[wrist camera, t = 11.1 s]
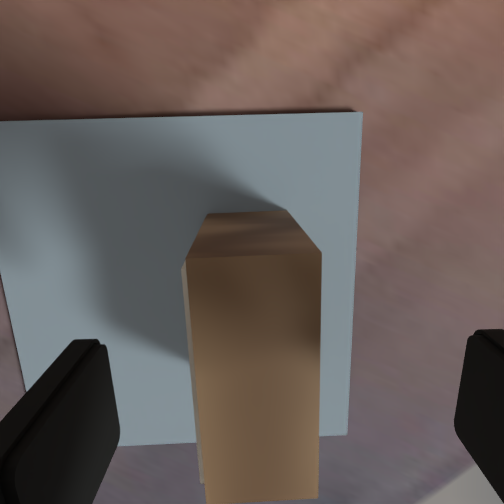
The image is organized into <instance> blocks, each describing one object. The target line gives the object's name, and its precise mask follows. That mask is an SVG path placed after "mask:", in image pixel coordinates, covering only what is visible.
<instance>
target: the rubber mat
mask: <svg viewBox="0 0 504 504" xmlns="http://www.w3.org/2000/svg"><path fill="white" fill-rule="evenodd" d="M362 119H363V112H340V113H301V114H263V115H224V116H186V117H147V118H109V119H71V120H32V121H0V273H1V278H2V282H3V287H4V291H5V296H6V301H7V305H8V310H9V314H10V319H11V323H12V328H13V333H14V337H15V342H16V346H17V351H18V355H19V360H20V365H21V369H22V374H23V378H24V383H25V387H26V392H27V391H28V390H29V389H30V388H31V387H32V385H33V384H34V383H35V382H36V381H37V380H38V379H39V378H40V376H41V375H42V374H43V373H44V372H45V371H46V370H47V369H48V367H49V366H50V365H51V364H52V363H53V362H54V361H55V359H56V358H57V357H58V356H59V355H60V354H61V353H62V352H63V350H64V349H65V348H66V347H67V346H68V345H69V344H70V343H71V341H73V340H74V339H98V340H99V341H100V344H105V345H106V347H107V350H108V356H109V362H110V368H111V375H112V381H113V387H114V393H115V399H116V405H117V411H118V418H119V424H120V439H119V443H118V446H133V445H153V444H173V443H193V442H197V441H196V430H195V419H194V408H193V397H192V386H191V375H190V364H189V352H188V341H187V330H186V319H185V308H184V297H183V286H182V275H181V268H182V266H183V264H184V262H185V258H186V256H187V254H188V252H189V250H190V248H191V246H192V244H193V242H194V240H195V238H196V236H197V234H198V232H199V230H200V228H201V226H202V224H203V221H204V219H205V217H206V215H207V214H209V213H234V212H259V211H283V210H287V211H288V212H289V213H290V214H291V216H292V217H293V218H294V219H295V220H296V222H297V223H298V224H299V225H300V226H301V228H302V229H303V230H304V231H305V233H306V234H307V235H308V236H309V237H310V239H311V240H312V241H313V242H314V244H315V245H316V246H317V247H318V248H319V250H320V251H321V252H322V285H321V348H320V411H319V436H334V435H347V427H348V407H349V386H350V365H351V345H352V324H353V304H354V283H355V263H356V242H357V222H358V201H359V180H360V160H361V139H362Z"/></svg>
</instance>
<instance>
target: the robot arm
mask: <svg viewBox="0 0 504 504" xmlns="http://www.w3.org/2000/svg"><path fill="white" fill-rule="evenodd" d="M454 427H455V431H456V434H457V436H458V437H459V439H460V440H461V442H462V443H463V445H464V446H465V448H466V449H467V451H468V452H469V454H470V455H471V456H472V458H473V459H474V461H475V462H476V464H477V465H478V467H479V468H480V470H481V471H482V472H483V474H484V475H485V477H486V478H487V480H488V481H489V483H490V484H491V486H492V487H493V488H494V490H495V491H496V493H497V494H498V496H499V497H500V499H501V500H502V502H503V503H504V330H503V329H483V330H477V331H475V333H474V334H473V335H471V336H469V338H468V340H467V345H466V351H465V357H464V363H463V369H462V375H461V382H460V388H459V394H458V400H457V406H456V412H455V418H454ZM119 439H120V424H119V418H118V411H117V405H116V399H115V393H114V387H113V381H112V375H111V368H110V362H109V356H108V350H107V347H106V345H105V344H100V341H99V340H98V339H74V340H73V341H71V343H70V344H69V345H68V346H67V347H66V348H65V349H64V350H63V352H62V353H61V354H60V355H59V356H58V357H57V358H56V359H55V361H54V362H53V363H52V364H51V365H50V366H49V367H48V369H47V370H46V371H45V372H44V373H43V374H42V375H41V376H40V378H39V379H38V380H37V381H36V382H35V383H34V384H33V385H32V387H31V388H30V389H29V390H28V391H27V392H26V393H25V395H24V396H23V397H22V398H21V399H20V400H19V401H18V402H17V404H16V405H15V406H14V407H13V408H12V409H11V410H10V412H9V413H8V414H7V415H6V416H5V417H4V418H3V419H2V421H1V422H0V504H92V503H93V500H94V498H95V496H96V494H97V491H98V489H99V487H100V484H101V482H102V480H103V478H104V475H105V473H106V471H107V468H108V466H109V464H110V462H111V459H112V457H113V455H114V452H115V450H116V448H117V446H118V443H119Z"/></svg>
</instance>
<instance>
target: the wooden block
mask: <svg viewBox="0 0 504 504" xmlns="http://www.w3.org/2000/svg"><path fill="white" fill-rule="evenodd" d="M181 275H182V286H183V297H184V308H185V319H186V330H187V341H188V352H189V364H190V375H191V386H192V397H193V408H194V419H195V430H196V441H197V452H198V463H199V475H200V484H205V494H206V504H229V503H246V502H262V501H279V500H296V499H312V498H318V474H319V411H320V348H321V285H322V252H321V251H320V250H319V248H318V247H317V246H316V245H315V244H314V242H313V241H312V240H311V239H310V237H309V236H308V235H307V234H306V233H305V231H304V230H303V229H302V228H301V226H300V225H299V224H298V223H297V222H296V220H295V219H294V218H293V217H292V216H291V214H290V213H289V212H288V211H287V210H283V211H259V212H234V213H209V214H207V215H206V217H205V219H204V221H203V224H202V226H201V228H200V230H199V232H198V234H197V236H196V238H195V240H194V242H193V244H192V246H191V248H190V250H189V252H188V254H187V256H186V258H185V262H184V264H183V266H182V268H181Z"/></svg>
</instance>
